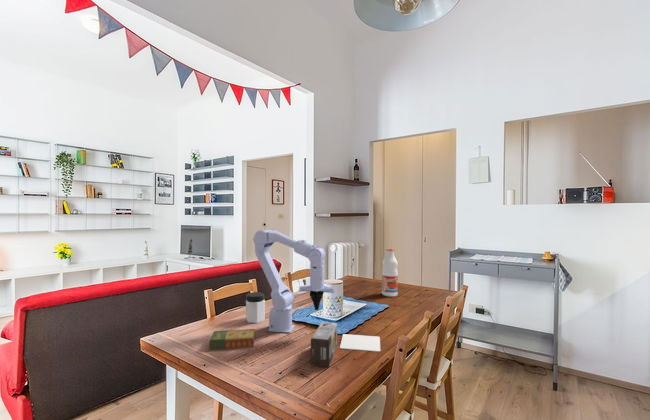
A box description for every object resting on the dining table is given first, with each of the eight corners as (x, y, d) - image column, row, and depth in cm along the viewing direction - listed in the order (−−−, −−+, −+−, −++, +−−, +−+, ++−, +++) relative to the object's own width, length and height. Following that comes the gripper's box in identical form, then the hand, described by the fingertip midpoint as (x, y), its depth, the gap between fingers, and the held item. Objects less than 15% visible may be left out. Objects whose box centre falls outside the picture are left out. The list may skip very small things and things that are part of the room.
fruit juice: (389, 291, 197) (389, 247, 197) (400, 295, 190) (401, 248, 189) (378, 294, 192) (379, 248, 192) (390, 297, 184) (390, 250, 184)
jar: (244, 317, 149) (244, 292, 149) (261, 315, 152) (262, 291, 152) (247, 324, 141) (247, 297, 141) (265, 322, 144) (266, 295, 144)
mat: (339, 348, 118) (339, 347, 118) (343, 334, 131) (343, 334, 131) (380, 351, 115) (380, 351, 115) (379, 337, 128) (379, 336, 128)
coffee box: (337, 346, 120) (329, 368, 104) (321, 344, 121) (310, 365, 105) (337, 322, 119) (329, 340, 104) (321, 321, 121) (310, 338, 105)
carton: (253, 348, 118) (253, 336, 118) (208, 350, 116) (208, 339, 116) (255, 338, 127) (255, 328, 126) (213, 341, 124) (213, 330, 124)
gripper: (297, 278, 128) (297, 311, 128) (333, 279, 125) (332, 313, 125) (301, 274, 135) (301, 306, 135) (335, 275, 132) (335, 307, 132)
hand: (316, 309), depth 131 cm, fingers closed
